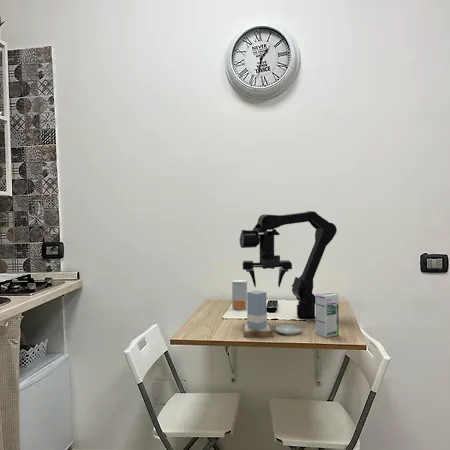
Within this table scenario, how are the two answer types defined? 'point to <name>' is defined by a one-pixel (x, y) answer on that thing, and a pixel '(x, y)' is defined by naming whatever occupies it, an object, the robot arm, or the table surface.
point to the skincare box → (239, 294)
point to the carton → (256, 310)
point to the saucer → (288, 329)
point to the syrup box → (327, 314)
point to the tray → (257, 331)
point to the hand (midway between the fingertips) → (267, 287)
